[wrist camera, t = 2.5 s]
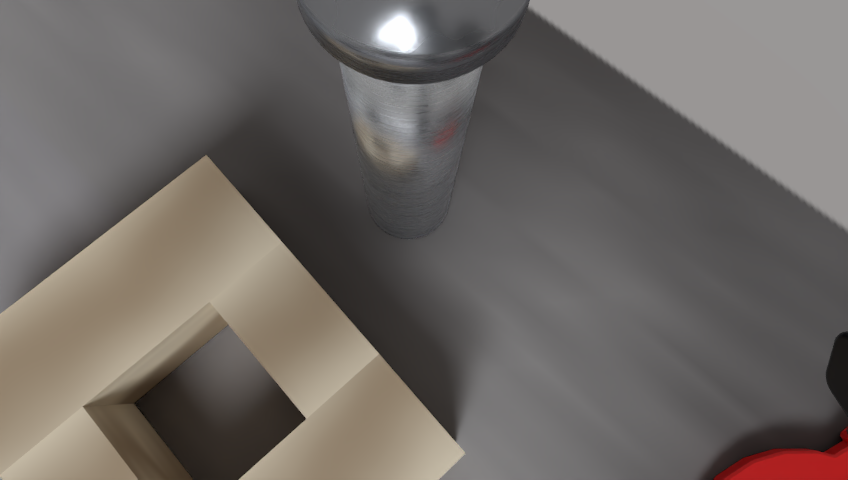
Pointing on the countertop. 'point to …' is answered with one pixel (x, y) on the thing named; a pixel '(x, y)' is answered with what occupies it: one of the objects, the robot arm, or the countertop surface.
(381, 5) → the steel pin
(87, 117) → the countertop surface
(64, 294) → the socket block
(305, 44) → the countertop surface
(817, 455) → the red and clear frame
